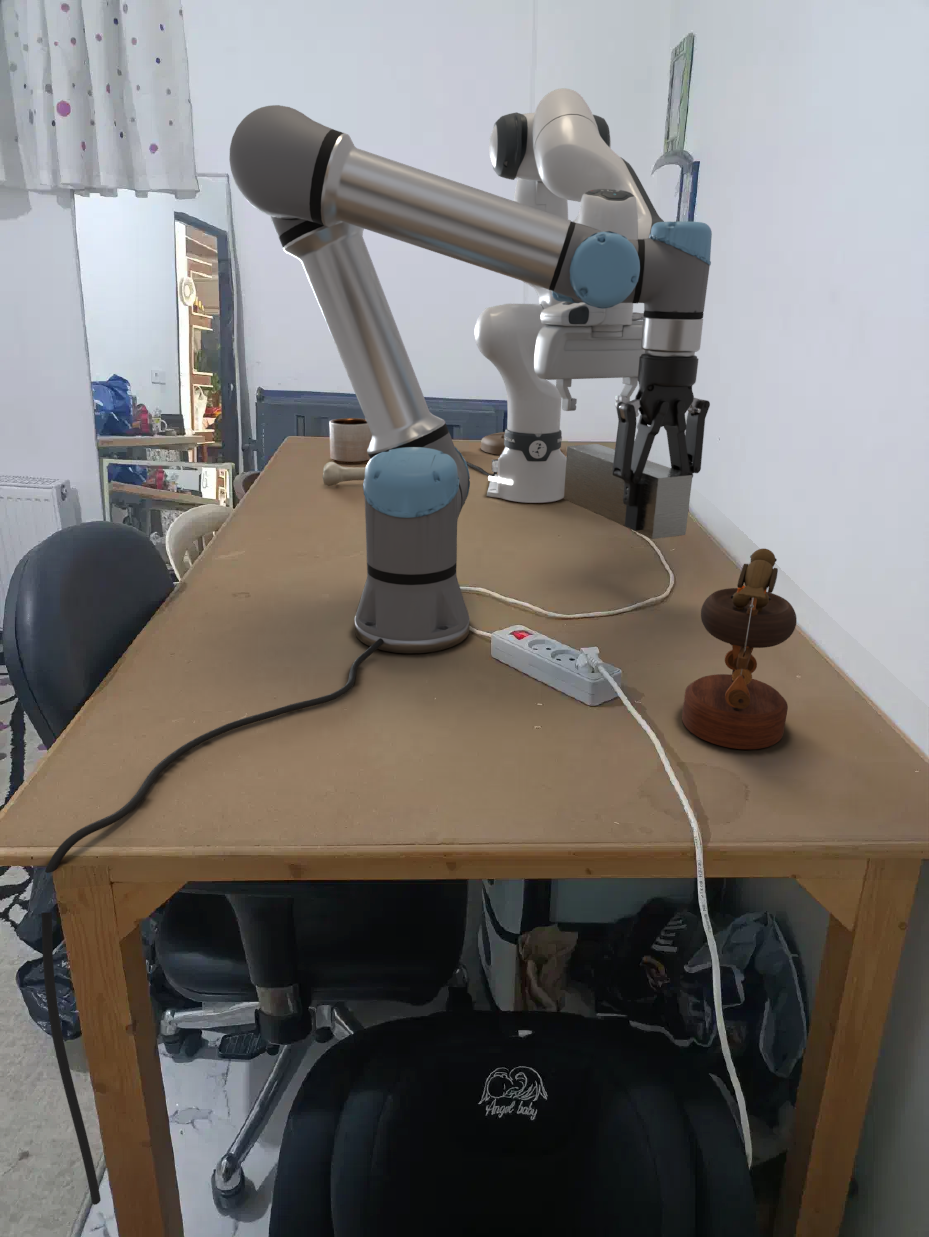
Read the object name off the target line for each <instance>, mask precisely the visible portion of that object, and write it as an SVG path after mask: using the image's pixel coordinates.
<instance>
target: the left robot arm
mask: <svg viewBox="0 0 929 1237" xmlns="http://www.w3.org/2000/svg"><path fill="white" fill-rule="evenodd" d="M229 166H230V171H231V175H232V178H233V181H234V183H235V185H236V188H237V190H238V191H239V193H240V194H241V195H242V197H243V198H244V199H245V200H246V201H247V202H248V203H249V205H251V207H253V208H255V209H256V210H257V211H259V212H260V213H263V214H265V215H266V216H269V218H270V220H271V223H272V225H273V228H274V231H275V233H276V235H277V237H278V239H279V243H280V244H281V247H282V249H283V252H285V253H286V254H288V255H290V256H292V257H294V258H296V259H297V260H299V261H300V262H301V264H302V267H303V269H304V272H305V275H306V277H307V280H308V282H309V284H310V287H311V289H312V291H313V294H314V297H315V298H316V301H317V303H318V306H319V309H320V311H321V313H322V316H323V318H324V321H325V323H326V326H327V328H328V331H329V333H330V335H331V338H332V340H333V343H334V345H335V348H336V350H337V353H338V355H339V358H340V359H341V362H342V365H343V368H344V369H345V372H346V374H347V377H348V380H349V383H350V384H351V386H352V389H353V391H354V394H355V396H356V399H357V401H358V404H359V406H360V409H361V411H362V415H363V416H364V419H366V421H367V423H368V426H369V428H370V431H371V433H372V440H371V442H370V445H369V447H368V450H367V452H368V455H369V457H370V461H368V462H366V463H367V464H366V466H365V467H364V468H365V479H364V480H363V483H362V490H363V496H364V512H365V513H364V515H365V516H364V517H365V518H364V519H365V545H366V546H365V548H366V579H365V584H364V586H363V589H362V592H361V596H360V600H359V602H358V606H357V609H356V612H355V615H354V633H355V636H356V638H357V639H358V640H359V641H360V642H362V643H363V644H365V645H367V646H368V648H367V649H366V650H365V651H363V652H362V653H361V654H360V655H359V656H357V658H356V659H355V660H354V661H353V662H352V664H351V666H350V669H349V673H348V680H347V682H346V683H345V685H343V686H342V687H341V688H339V689H338V690H336V691H333V692H331V693H329V694H326V695H322V696H319V697H315V698H312V699H307V700H303V701H298V702H294V703H291V704H288V705H284V706H280V707H277V708H275V709H271V710H267V711H264V712H261V713H256V714H254V715H250V716H246V717H243V718H241V719H240V718H239V719H237V720H234V721H231V722H229V723H226V724H224V725H221V726H218V727H217V728H213V729H212V730H210V731H208V732H206V733H203V734H201V735H199V736H197V737H196V738H194V739H191V740H190V741H188V742H186V743H185V744H183V745H181V746H180V747H178V748H177V749H176V750H174V751H173V752H171V753H170V754H168V755H167V756H165V758H164V759H162V760H161V761H160V762H159V763H158V764H156V765H155V767H153V768H152V770H151V771H150V772H149V774H148V775H147V776H146V778H145V779H144V781H143V783H142V784H141V785H140V787H139V789H138V790H137V791H136V793H135V794H134V795H133V797H131V799H129V801H128V802H127V803H126V804H125V805H124V806H122V807H121V808H120V809H119V810H116V811H115V812H113V813H112V814H110V815H108V816H105V817H103V818H100V819H99V820H96V821H94V822H92V823H89V824H87V825H85V826H84V827H82V828H80V829H78V830H76V831H75V832H73V833H72V834H71V835H69V836H68V837H67V838H66V839H65V840H64V841H63V842H62V843H61V844H60V845H59V846H58V848H57V849H56V850H55V852H53V855H52V856H51V857H50V860H49V861H48V863H47V865H46V867H45V870H44V872H45V873H46V874H50V873H52V872H55V871H56V870H57V869H58V867H59V865H60V863H61V862H62V861H63V859H64V857H65V856H66V855H67V853H68V852H69V851H70V850H71V849H72V847H74V846H75V845H76V844H77V843H78V842H79V841H81V840H83V839H84V838H85V837H87V836H89V835H91V834H94V833H95V832H97V831H100V830H102V829H104V828H107V827H109V826H111V825H113V824H115V823H116V822H119V821H120V820H122V819H123V818H125V817H127V815H129V814H130V813H132V811H133V810H135V809H136V808H137V807H138V805H139V804H141V802H142V801H143V800H144V798H145V797H146V795H147V794H148V792H149V791H150V789H151V787H152V786H153V784H154V782H155V781H156V780H157V778H158V777H159V776H160V775H161V774H162V772H163V771H164V770H166V769H167V768H168V767H169V766H170V765H172V763H174V762H175V761H176V760H177V759H179V758H181V757H182V756H183V755H184V754H187V753H188V752H190V751H191V750H193V749H194V748H197V746H199V745H202V744H203V743H205V742H207V741H209V740H212V739H213V738H216V737H218V736H220V735H222V734H223V735H224V734H225V733H227V732H230V731H232V730H236V729H238V728H241V727H245V726H247V725H251V724H255V723H258V722H260V721H264V720H268V719H271V718H272V719H273V718H274V717H278V716H281V715H284V714H288V713H290V712H294V711H298V710H302V709H307V708H311V707H315V706H319V705H322V704H326V703H329V702H331V701H334V700H336V699H338V698H340V697H342V696H344V695H345V694H347V693H348V692H349V691H351V690H352V688H353V687H354V686H355V685H354V684H355V682H356V676H357V670H358V669H359V667H360V666H361V664H362V663H363V662H364V661H365V660H366V659H368V658H369V657H370V656H371V655H372V654H373V653H375V651H376V650H380V651H384V652H390V653H396V654H397V653H398V654H425V653H433V652H439V651H443V650H446V649H449V648H452V647H455V646H457V645H458V644H460V643H462V642H463V641H464V640H466V639H467V637H468V636H469V634H470V615H469V612H468V608H467V606H466V601H465V599H464V596H463V593H462V589H461V586H460V583H459V581H458V577H457V561H458V560H457V559H458V558H457V557H458V556H457V554H458V521H459V517H460V515H461V512H462V509H463V507H464V506H465V503H466V501H467V499H468V496H469V494H470V493H469V492H470V486H471V481H470V479H471V476H470V470H469V466H468V465H467V463H466V461H467V460H466V459H465V458H464V456H463V455H462V454H463V453H461V452H460V450H459V449H458V447H456V446H455V444H454V441H453V438H452V436H451V434H450V431H449V428H448V425H447V423H446V420H445V419H443V418H441V417H439V416H437V415H434V414H433V413H432V412H431V411H430V408H429V407H428V404H427V402H426V399H425V395H424V394H423V391H422V388H421V386H420V383H419V380H418V378H417V376H416V373H415V370H414V367H413V365H412V362H411V360H410V357H409V354H408V351H407V349H406V346H405V344H404V341H403V338H402V335H401V334H400V331H399V328H398V326H397V323H396V320H395V318H394V315H393V311H392V310H391V307H390V305H389V302H388V300H387V296H386V294H385V292H384V289H383V287H382V286H383V285H382V284H381V281H380V278H379V276H378V273H377V271H376V268H375V265H374V263H373V260H372V257H371V255H370V252H369V250H368V247H367V245H366V241H365V239H364V235H363V234H364V230H367V231H370V232H373V233H376V234H379V235H382V236H385V237H388V238H391V239H394V240H397V241H401V242H404V243H407V244H409V245H412V246H415V247H418V248H421V249H425V250H427V251H429V252H434V253H437V254H439V255H443V256H444V257H445V256H446V257H447V258H452V259H454V260H457V261H461V262H464V263H466V264H470V265H473V266H476V267H479V268H482V269H484V270H487V271H491V272H493V273H496V274H500V275H504V276H506V277H509V278H512V279H515V280H518V281H521V282H523V281H524V282H527V283H530V284H533V285H536V286H539V287H542V288H545V289H548V290H551V291H552V296H553V298H554V299H555V300H557V301H563V302H572V303H580V302H584V303H586V304H588V305H590V306H593V307H597V308H602V309H603V308H610V307H613V306H615V305H617V304H619V303H633V304H643V313H644V315H643V316H644V317H643V320H642V321H643V327H642V338H641V348H642V349H643V350H645V353H644V354H641V356H640V357H639V368H638V390H637V393H636V394H635V397H634V399H632V400H630V401H629V402H627V403H623V402H619V403H618V404H617V406H616V407H615V409H616V413H617V420H618V422H617V431H616V438H615V439H616V440H615V446H614V449H615V454H614V462H613V470H612V474H613V476H615V477H618V478H621V479H623V480H624V494H623V503H624V504H625V505H626V516H625V526H626V527H625V528H627V527H628V528H627V529H629V528H631V529H633V530H635V531H639V530H640V528H641V518H642V508H643V498H644V488H645V484H644V483H641V482H640V480H641V477H642V474H643V471H644V468H645V465H646V462H647V460H648V459H649V456H650V452H651V449H652V447H653V444H654V441H655V438H656V436H657V435H658V434H660V430H661V428H662V427H663V429H664V430H665V431H666V438H667V447H668V453H669V460H670V468H672V469H675V470H678V471H681V472H684V473H687V474H690V475H693V476H692V479H693V478H694V474H699V473H700V472H701V469H702V460H703V459H702V458H703V448H704V438H705V437H704V436H705V427H706V426H705V425H706V417H707V414H708V412H709V409H710V406H711V403H710V401H709V400H706V399H700V398H697V397H695V395H694V392H693V386H694V385H695V384H696V383H697V375H698V368H699V358H698V356H697V355H695V353H697V352H699V351H700V350H701V343H702V335H703V325H704V312H705V306H706V298H707V291H708V290H707V289H708V283H709V282H708V281H709V274H710V267H711V264H712V261H711V252H712V236H713V233H712V228H711V227H710V225H709V224H707V223H705V222H701V221H690V220H689V221H686V220H685V221H682V220H681V221H680V220H679V221H678V220H677V221H664V222H657V223H655V224H654V225H653V226H652V229H651V234H650V235H649V238H648V239H638V240H630V239H627V238H626V237H625V236H622V235H620V234H618V233H615V232H611V231H606V232H603V231H601V230H598V229H595V228H592V227H589V226H586V225H583V224H579V223H575V222H573V221H571V220H572V219H571V220H570V219H569V218H568V219H565V218H562V217H559V216H556V215H553V214H550V213H547V212H545V211H542V210H539V209H536V208H533V207H530V206H527V205H524V204H521V203H518V202H515V201H513V200H512V199H508V198H506V197H503V196H500V195H498V194H494V193H491V192H488V191H485V190H483V189H479V188H476V187H473V186H471V185H467V184H465V183H462V182H458V181H455V180H452V179H450V178H447V177H443V176H440V175H437V174H434V173H432V172H430V171H429V172H428V171H426V170H423V169H420V168H418V167H414V166H412V165H408V164H405V163H402V162H399V161H396V160H393V159H390V158H388V157H384V156H381V155H379V154H375V153H372V152H369V151H368V150H367V151H366V150H363V149H361V148H358V147H356V146H355V144H354V142H353V140H352V139H351V136H350V134H348V133H345V132H342V131H340V130H336V129H334V128H331V127H329V126H326V125H324V124H322V123H320V122H317V121H315V120H314V119H312V118H310V117H309V116H307V115H306V114H304V113H303V112H301V111H300V110H298V109H295V108H293V107H290V106H285V105H279V104H273V105H265V106H261V107H259V108H256V109H254V110H253V111H250V112H249V113H248V114H247V115H246V116H245V117H244V118H243V119H242V120H241V121H240V122H239V123H238V125H237V126H236V128H235V130H234V133H233V135H232V138H231V142H230V146H229ZM524 282H523V283H524ZM686 413H687V415H686ZM637 417H639V418H638V422H637ZM636 431H637V432H636ZM631 529H630V530H631ZM633 530H632V531H633ZM635 531H634V532H635ZM40 915H41V942H42V945H41V946H42V947H41V948H42V966H43V979H44V980H43V981H44V990H45V998H46V1006H47V1014H48V1021H49V1025H50V1026H49V1027H50V1031H51V1037H52V1041H53V1047H54V1052H55V1057H56V1061H57V1065H58V1069H59V1073H60V1077H61V1081H62V1085H63V1089H64V1093H65V1096H66V1100H67V1104H68V1107H69V1108H68V1109H69V1111H70V1115H71V1119H72V1123H73V1126H74V1130H75V1134H76V1137H77V1142H78V1146H79V1150H80V1154H81V1158H82V1162H83V1166H84V1170H85V1176H86V1179H87V1184H88V1189H89V1194H90V1198H91V1199H90V1200H91V1203H92V1205H94V1206H95V1205H98V1204H100V1203H101V1200H102V1199H101V1194H100V1188H99V1183H98V1178H97V1173H96V1168H95V1164H94V1159H93V1155H92V1151H91V1147H90V1143H89V1139H88V1135H87V1131H86V1127H85V1124H84V1119H83V1115H82V1112H81V1107H80V1104H79V1100H78V1096H77V1092H76V1088H75V1084H74V1081H73V1080H74V1079H73V1076H72V1072H71V1068H70V1064H69V1059H68V1055H67V1050H66V1046H65V1041H64V1036H63V1031H62V1026H61V1018H60V1013H59V1012H60V1011H59V1006H58V998H57V990H56V981H55V968H54V965H55V964H54V953H53V952H54V950H53V949H54V948H53V914H52V911H51V912H41V913H40Z"/></svg>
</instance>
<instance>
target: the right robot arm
mask: <svg viewBox="0 0 929 1237" xmlns="http://www.w3.org/2000/svg"><path fill="white" fill-rule="evenodd" d="M610 132H611V131H610V127H609V124H608V123H607V121H606V119H605V118H604V117H602V116H599V115H597V114H593V112H592V110H591V108H590V106H589V104H588V103H587V101H586V100H585V99H584V97H583V96H582V95H581V94H580V93H579V92H578V91H576V90H574V89H570V88H565V87H564V88H556V89H554V90H551V91H549V92H548V93H546V94H545V95H544V96H543V97H542V98H541V100H540V101H539V103H538V104H537V106H536V108H535V111H534V112H527V113H519V112H511V113H507V114H504V115H501V116H500V117H499V118H498V119H497V120H496V121H495V123H494V124H493V128H492V131H491V133H490V137H489V141H488V154H489V155H488V156H489V159H490V163H491V164H492V165H491V166H492V170H493V171H494V173H495V174H496V175H497V176H498V177H500V178H503V179H507V180H511V181H515V179H516V183H515V189H514V195H513V200H512V201H515V202H518V203H521V204H524V205H527V206H530V207H533V208H536V209H539V210H542V211H545V212H547V213H550V214H553V215H556V216H559V217H562V218H565V219H568V220H569V205H568V204H569V203H568V201H571V202H572V201H573V202H578V203H579V210H578V214H577V216H576V217H575V219H574V220H573V221H572V222H575V223H579V224H583V225H586V226H589V227H592V228H595V229H598V230H601V231H603V232H606V231H611V232H615V233H618V234H620V235H622V236H625V237H626V238H627V239H630V240H638V239H648V238H649V235H650V234H651V229H652V226H653V225H654V224H655V223H657V222H665V220H663V219H662V217H660V216H659V214H658V212H657V210H656V208H655V206H654V204H653V203H652V201H651V199H650V196H649V195H648V193H647V191H646V190H645V187H644V186H643V184H642V181H641V180H640V177H639V176H638V175H637V172H636V171H635V169H634V168H633V166H632V165H631V164H630V163H629V162H628V161H626V160H625V159H624V158H622V157H621V156H619V154H618V153H616V152H615V151H614V150H613V149H612V139H611V134H610ZM522 282H523V283H524V284H526V285H527V286H529V287H531V288H533V290H534V291H535V293H536V295H537V298H538V303H503V304H498V305H493V306H490V307H486V308H485V309H483V310H482V312H481V313H480V314H479V315H478V317H477V319H476V322H475V326H474V341H475V343H476V346H477V348H478V350H479V352H480V353H481V354H482V356H483V357H485V358H486V359H487V360H488V361H489V362H491V364H492V365H493V366H494V367H495V368H496V369H497V371H498V373H499V375H500V376H501V379H502V380H503V384H504V387H505V391H506V404H507V421H506V422H507V423H506V424H507V426H506V428H505V431H504V432H505V435H504V445H505V448H504V450H503V452H502V454H501V455H499V457H498V458H497V459H495V458H494V459H491V472H492V474H491V473H488V472H487V471H486V470H484V469H483V468H482V467H480V466H478V465H477V464H473V463H471V462H469V461H467V460H465V461H466V463H467V466H468V467H470V468H471V469H474V470H477V471H478V472H480V473H481V474H483V475H485V476H488V477H487V479H488V481H489V484H488V489H487V491H486V496H487V497H490V498H498V499H503V500H506V501H510V502H516V503H517V502H518V503H526V504H527V503H529V504H537V503H538V504H540V503H553V502H556V501H560V500H562V499H564V489H565V473H566V457H567V456H566V455H565V454H564V453H563V452H562V451H561V448H562V441H563V436H562V430H561V415H562V411H564V412H573V411H576V410H577V402H578V398H575V397H572V395H571V392H570V390H569V388H571V387H572V383H573V382H572V381H573V380H586V379H587V380H589V379H591V380H592V379H621V378H622V381H621V382H622V385H624V386H623V388H622V390H621V392H620V394H619V395H615V399H614V400H615V402H614V407H615V408H616V406H617V404H618V403H619V402H623V403H627V402H629V401H631V397H632V395H633V393H634V391H635V390H636V388H637V386H639V382H638V368H639V357H640V356H641V354H644V353H645V350H643V349H642V348H641V338H642V327H643V317H644V316H643V315H644V312H643V313H642V312H634V303H619V304H617V305H615V306H613V307H610V308H603V309H602V308H597V307H593V306H590V305H588V304H586V303H584V302H580V303H572V302H563V301H557V300H555V299H554V298H553V296H552V291H551V290H548V289H545V288H542V287H539V286H536V285H533V284H530V283H527V282H524V281H522ZM551 381H555V384H554V383H553V382H551Z"/></svg>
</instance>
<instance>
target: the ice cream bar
mask: <svg viewBox="0 0 929 1237" xmlns="http://www.w3.org/2000/svg"><path fill="white" fill-rule="evenodd" d="M504 435H505V431H501V432H494V433H491V434H486V435H485V436H483V437H482V438H481V440H480V450H482V451H483V452H485V453H488V454H492V455H497V456H500V455H501V454H502V452H503V450H504V448H505V445H504Z"/></svg>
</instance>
